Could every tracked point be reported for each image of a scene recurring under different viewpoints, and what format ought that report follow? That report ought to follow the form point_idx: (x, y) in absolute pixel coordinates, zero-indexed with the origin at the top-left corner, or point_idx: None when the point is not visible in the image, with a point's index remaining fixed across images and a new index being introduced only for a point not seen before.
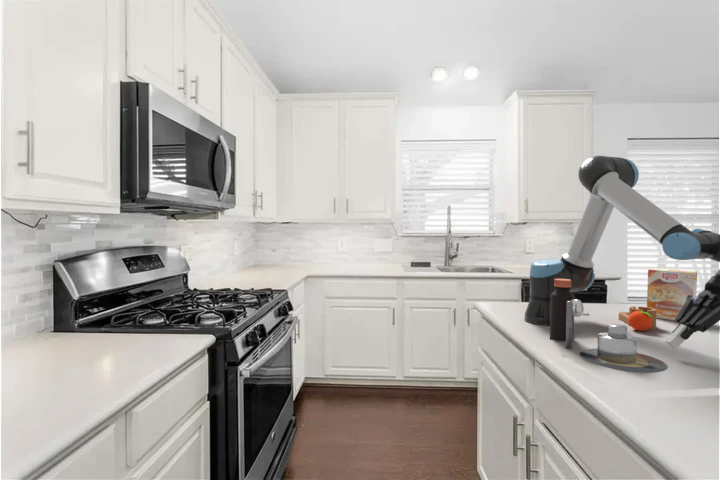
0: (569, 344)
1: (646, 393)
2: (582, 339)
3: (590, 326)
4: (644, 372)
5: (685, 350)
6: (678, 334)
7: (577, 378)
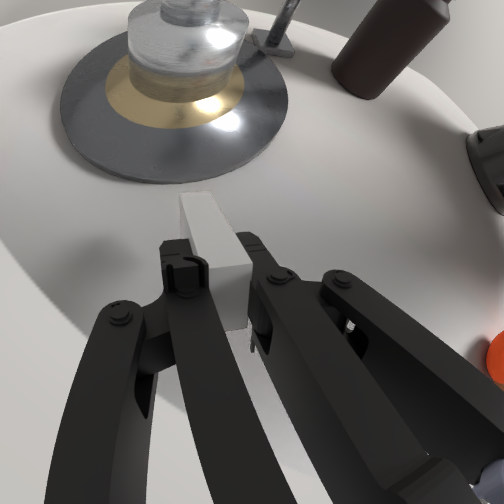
0: (271, 27)
1: (15, 64)
2: (398, 141)
3: (493, 247)
4: (68, 77)
5: None
6: (187, 226)
7: (107, 7)
